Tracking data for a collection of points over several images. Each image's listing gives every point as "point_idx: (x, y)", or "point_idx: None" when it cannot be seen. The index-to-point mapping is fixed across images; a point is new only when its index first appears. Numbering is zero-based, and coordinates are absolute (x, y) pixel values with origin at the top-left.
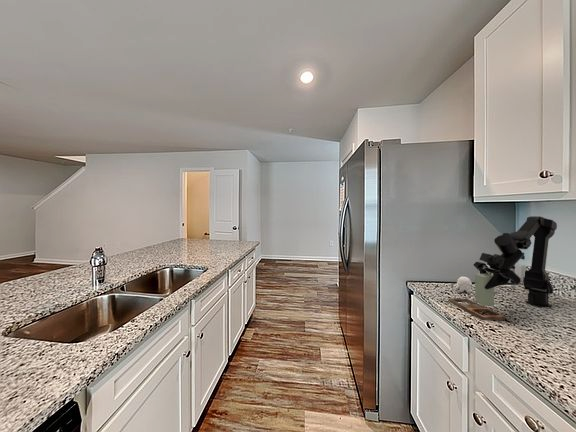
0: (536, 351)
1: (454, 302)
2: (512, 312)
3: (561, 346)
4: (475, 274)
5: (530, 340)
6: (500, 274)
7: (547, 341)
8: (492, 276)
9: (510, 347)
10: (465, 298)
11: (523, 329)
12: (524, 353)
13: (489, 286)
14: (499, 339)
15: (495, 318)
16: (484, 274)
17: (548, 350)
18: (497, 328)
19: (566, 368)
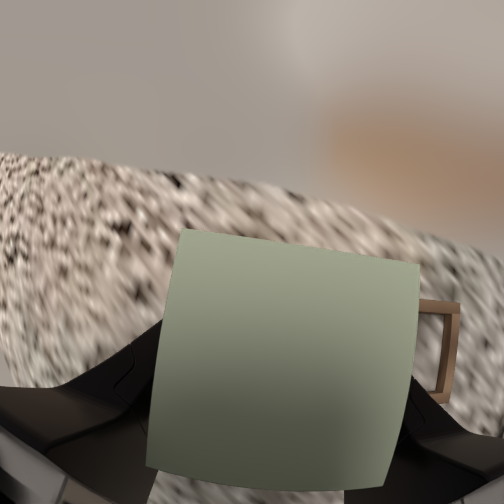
0: (13, 232)
1: (421, 299)
2: (263, 495)
3: (7, 332)
4: (405, 266)
5: (40, 283)
6: (1, 452)
7: (27, 329)
8: (148, 437)
9: (44, 184)
10: (449, 394)
11: (95, 357)
12: (22, 193)
13: None
14: (74, 192)
15: None
16: (334, 420)
17: (6, 269)
18: (124, 261)
19: None
